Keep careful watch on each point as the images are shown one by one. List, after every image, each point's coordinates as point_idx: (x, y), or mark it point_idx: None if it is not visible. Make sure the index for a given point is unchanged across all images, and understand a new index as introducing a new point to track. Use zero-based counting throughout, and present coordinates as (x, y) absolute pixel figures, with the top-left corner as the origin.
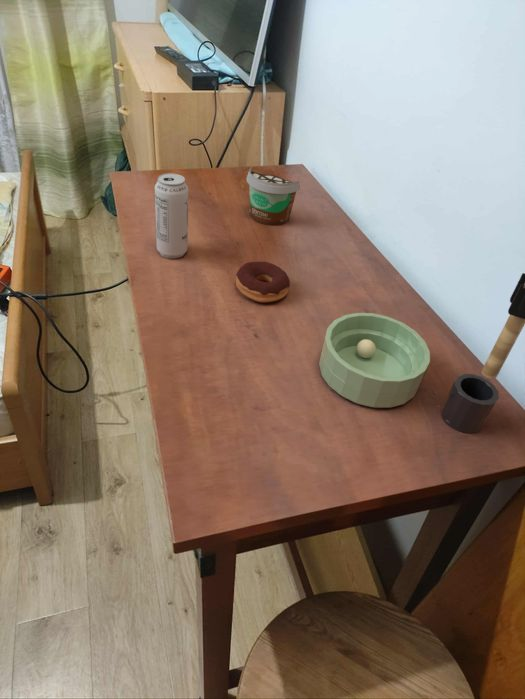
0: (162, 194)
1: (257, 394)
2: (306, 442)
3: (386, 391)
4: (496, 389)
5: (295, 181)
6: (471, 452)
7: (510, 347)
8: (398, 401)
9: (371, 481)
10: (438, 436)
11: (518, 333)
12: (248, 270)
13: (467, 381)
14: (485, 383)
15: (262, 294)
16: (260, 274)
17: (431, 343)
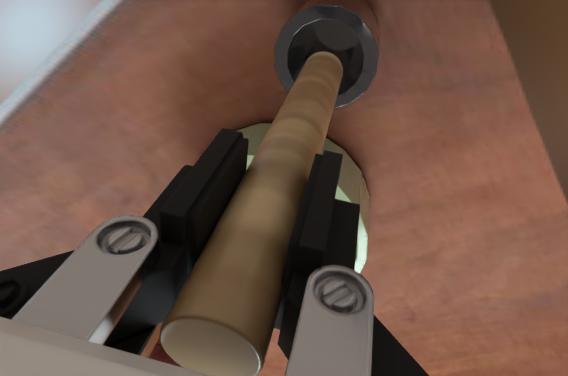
0: None
1: (385, 319)
2: (463, 269)
3: (365, 208)
4: (309, 10)
5: None
6: (431, 17)
7: (325, 102)
8: (353, 167)
9: (531, 191)
10: (402, 84)
11: (316, 125)
12: (168, 362)
13: (293, 71)
14: (294, 35)
15: None
16: (157, 341)
17: (140, 92)
